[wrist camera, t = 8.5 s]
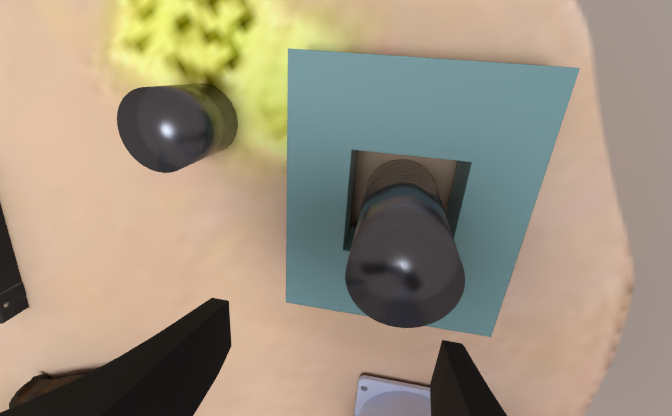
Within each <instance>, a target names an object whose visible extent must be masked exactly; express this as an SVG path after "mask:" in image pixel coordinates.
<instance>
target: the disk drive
mask: <svg viewBox="0 0 672 416" xmlns="http://www.w3.org/2000/svg"><path fill="white" fill-rule="evenodd" d="M28 307H29V305H28V301H27V298H26V292H25V288H24V285H23V282H22V280H21V276H20V273H19V269H18V265H17V262H16V258H15V255H14V251H13V248H12V244H11V240H10V237H9V233H8V229H7V225H6V223H5V218H4V215H3V212H2V208H1V204H0V323H1V324H2V323H4V322H6V321H7V320H9V319H11V318H12V317H14V316H15V315H17V314H18V313H20V312H22V311H23V310H25V309H26V308H28Z"/></svg>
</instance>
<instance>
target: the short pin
mask: <svg viewBox="0 0 672 416" xmlns="http://www.w3.org/2000/svg"><path fill="white" fill-rule="evenodd" d="M117 125H118V130H119V134H120V137H121V139H122V141H123V143H124V145H125V147H126V148H127V150H128V151H129V153H130V154H131V155H132V156H133V157H134V158H135V159H136V160H137V161H138V162H139V163H141V164H142V165H143V166H145V167H147V168H149V169H151V170H154V171H157V172H163V173H169V172H174V171H177V170H179V169H182V168H184V167H186V166H188V165H190V164H193V163H195V162H197V161H199V160H202V159H204V158H206V157H208V156H210V155H213V154H215V153H217V152H219V151H222V150H224V149H225V148H227V147H228V146H229V145H230V144H231V143H232V142H233V140H234V138H235V136H236V133H237V126H238V123H237V116H236V112H235V109H234V107H233V105H232V103H231V102H230V100H229V99H228V98H227V96H226V95H225V94H224V93H223V92H221V91H220V90H219V89H217V88H215V87H213V86H211V85H207V84H187V85H171V86H156V87H142V88H137V89H134V90H132V91H131V92H129V93H128V94H127V95H126V96H125V97H124V98H123V99H122V101H121V103H120V106H119V108H118V113H117Z"/></svg>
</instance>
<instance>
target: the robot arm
mask: <svg viewBox="0 0 672 416" xmlns="http://www.w3.org/2000/svg"><path fill="white" fill-rule="evenodd" d="M230 348H231V332H230V316H229V301H226V300H221V299H215V298H211V299H210V300H208V301H206V302H205V303H203V304H202V305H200V306H199V307H197V308H196V309H194V310H193V311H191V312H190V313H188V314H187V315H185V316H184V317H182V318H181V319H179V320H178V321H176V322H175V323H173V324H172V325H170V326H169V327H167V328H166V329H164V330H163V331H161V332H160V333H158V334H156V335H155V336H153V337H152V338H150V339H148V340H147V341H145V342H143V343H142V344H140V345H138V346H137V347H135V348H133V349H132V350H130V351H128V352H127V353H125V354H123V355H122V356H120V357H118V358H116V359H114V360H113V361H111V362H109V363H107V364H105V365H103V366H102V367H100V368H98V369H96V370H94V371H92V372H90V373H88V374H86V375H84V376H82V377H80V378H78V379H76V380H74V381H72V382H70V383H68V384H65V385H63V386H61V387H59V388H57V389H54V390H52V391H50V392H48V393H45V394H43V395H41V396H39V397H37V398H34V399H32V400H30V401H28V402H25V403H23V404H20V405H18V406H16V407H13V408H11V409H8V410H6V411H3V412H1V413H0V416H193V415H194V413H195V412H196V410H197V408H198V407H199V405H200V404H201V402H202V400H203V399H204V397H205V395H206V394H207V392H208V390H209V389H210V387H211V386H212V384H213V382H214V381H215V379H216V377H217V375H218V374H219V371H220V369H221V367H222V365H223V363H224V361H225V359H226V357H227V354H228V352H229V350H230ZM364 386H366V387H364ZM354 416H507V415H506V413H505V412H504V410H503V409H502V407H501V406H500V404H499V403H498V401H497V400H496V398H495V396H494V395H493V393H492V392H491V390H490V389H489V387H488V385H487V384H486V382H485V381H484V379H483V377H482V376H481V374H480V372H479V371H478V369H477V367H476V366H475V364H474V362H473V361H472V359H471V357H470V355H469V354H468V352H467V350H466V348H465V347H464V346H463V344H461V343H455V342H450V341H444V340H442V343H441V347H440V351H439V354H438V358H437V362H436V365H435V369H434V373H433V376H432V380H431V384H430V388H429V387H424V386H419V385H414V384H409V383H403V382H398V381H393V380H388V379H383V378H377V377H372V376H367V375H363V376H360V377H359V381H358V389H357V397H356V404H355V412H354Z"/></svg>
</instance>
